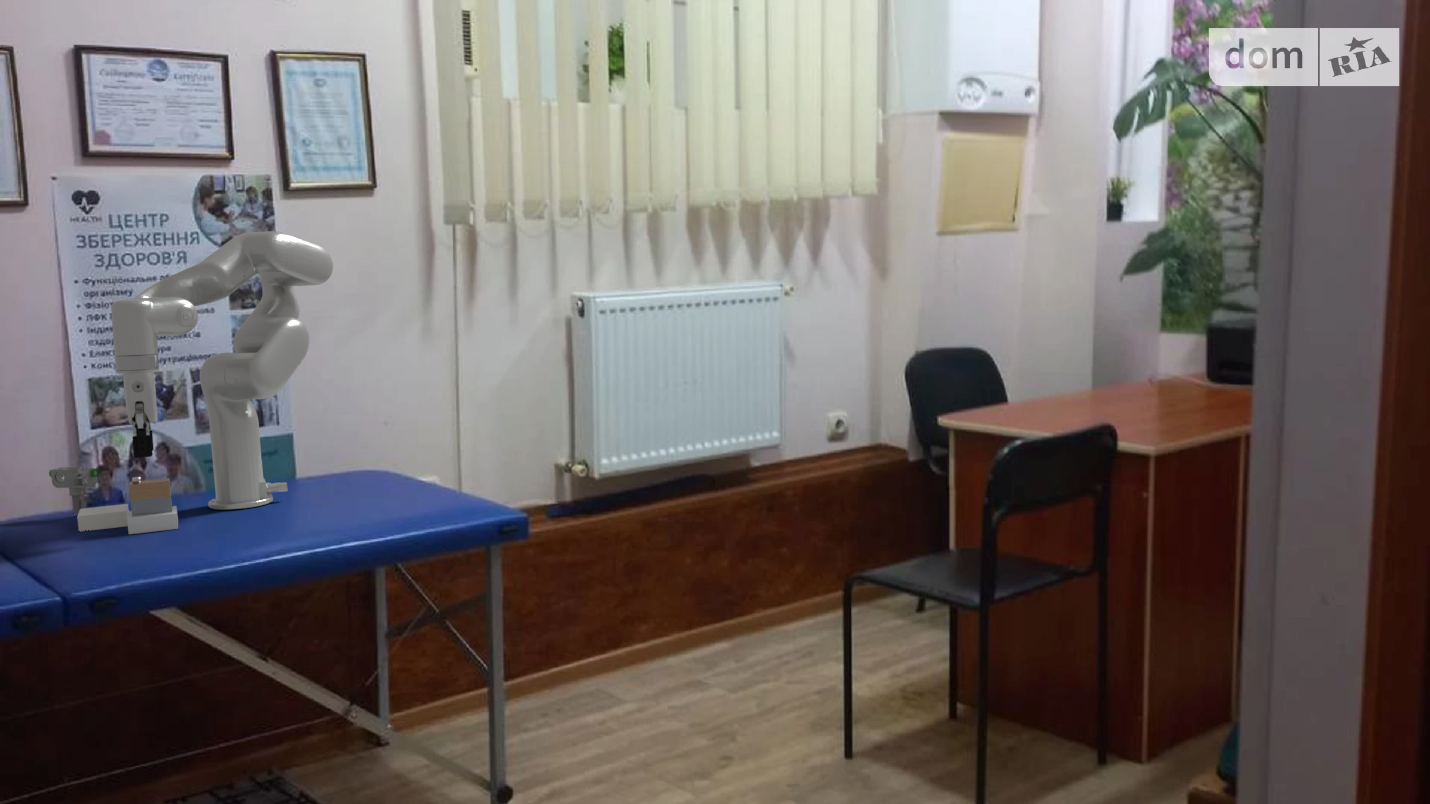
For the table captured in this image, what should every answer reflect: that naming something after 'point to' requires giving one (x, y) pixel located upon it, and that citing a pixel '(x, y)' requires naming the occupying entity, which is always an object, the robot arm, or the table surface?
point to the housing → (150, 496)
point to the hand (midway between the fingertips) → (144, 454)
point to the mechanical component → (74, 482)
